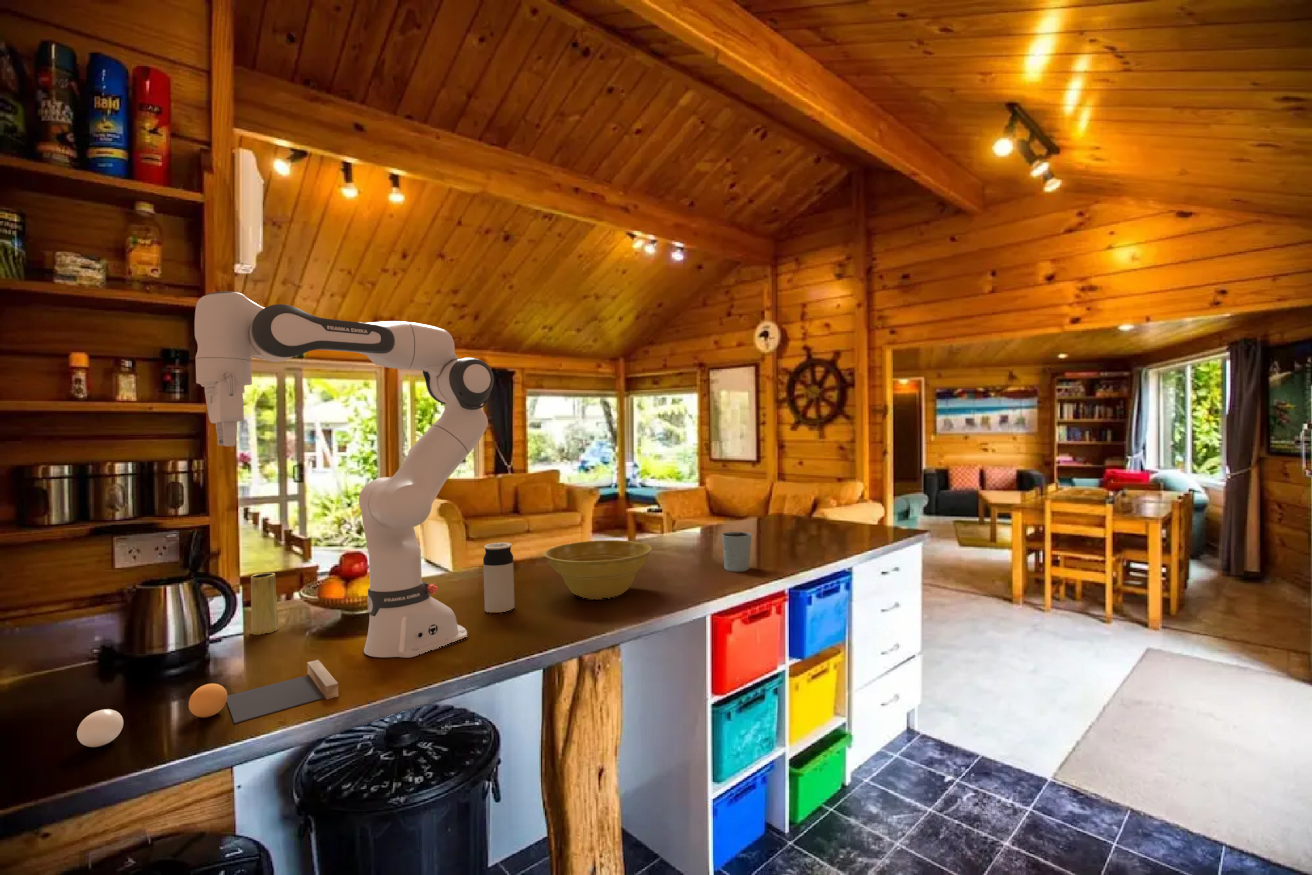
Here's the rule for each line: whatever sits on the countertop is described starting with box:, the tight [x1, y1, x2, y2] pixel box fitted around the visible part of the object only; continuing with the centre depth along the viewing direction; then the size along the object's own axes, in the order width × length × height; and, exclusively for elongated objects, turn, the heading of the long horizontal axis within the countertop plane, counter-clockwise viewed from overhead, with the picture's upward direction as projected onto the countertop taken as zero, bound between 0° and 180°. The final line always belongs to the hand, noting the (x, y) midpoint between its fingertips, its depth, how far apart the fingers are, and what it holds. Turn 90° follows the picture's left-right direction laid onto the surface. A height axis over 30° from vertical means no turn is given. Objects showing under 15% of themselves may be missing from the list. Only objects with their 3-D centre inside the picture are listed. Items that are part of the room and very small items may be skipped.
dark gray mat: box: [226, 674, 326, 725], centre depth 112 cm, size 14×14×1 cm
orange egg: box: [188, 683, 228, 718], centre depth 106 cm, size 6×6×6 cm
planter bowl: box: [543, 539, 653, 600], centre depth 178 cm, size 32×32×13 cm
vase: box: [250, 572, 280, 636], centre depth 151 cm, size 6×6×14 cm
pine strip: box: [306, 659, 339, 701], centre depth 117 cm, size 2×16×2 cm, turn 41°
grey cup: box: [721, 531, 752, 573], centre depth 206 cm, size 10×10×12 cm
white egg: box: [76, 708, 124, 748], centre depth 96 cm, size 6×6×6 cm
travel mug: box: [482, 542, 515, 613], centre depth 164 cm, size 8×8×18 cm
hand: (226, 446), depth 116 cm, fingers open, 8 cm apart
